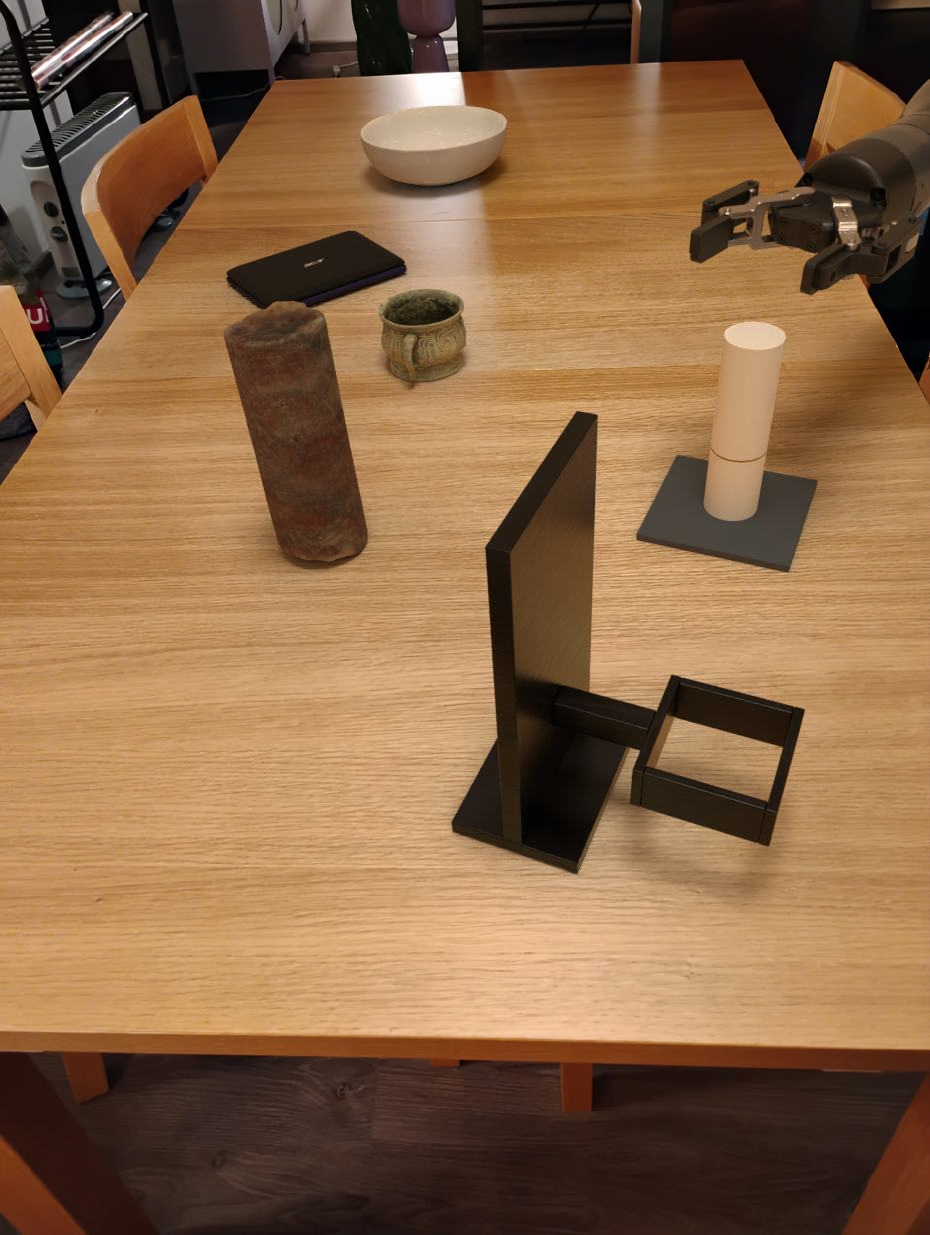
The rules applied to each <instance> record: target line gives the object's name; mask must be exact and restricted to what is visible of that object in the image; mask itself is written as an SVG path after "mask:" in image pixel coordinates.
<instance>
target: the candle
mask: <svg viewBox="0 0 930 1235" xmlns="http://www.w3.org/2000/svg"><path fill="white" fill-rule="evenodd" d="M223 340H224V343H225V347H226V351H227V354H228V357H229V362H230V365H231V368H232V372H233V376H234V381H235V384H236V388H237V390H238V395H239V399H240V404H241V406H242V410H243V414H244V417H245V421H246V426H247V430H248V434H249V437H250V441H251V444H252V445H251V446H252V448H253V453H254V455H255V456H254V457H255V460H256V464H257V468H258V471H259V476H260V479H261V484H262V488H263V492H264V497H265V500H266V502H267V503H266V504H267V507H268V508H267V509H268V512H269V515H270V518H271V523H272V526H273V530H274V533H275V537H276V540H277V543H278V545H279V547H280V548H281V550H282V551H283V552H284V553H286V554H287V555H291V556H292V557H297V558H300V559H302V560H305V561H322V562H323V561H324V562H333V561H336V560H337V559H343V558H346V557H350V556H351V557H352V556H356V555H358V554H359V553H361V552H362V551H363V549H364V548H365V546H366V545H367V541H368V527H367V521H366V516H365V511H364V506H363V500H362V496H361V491H360V486H359V482H358V476H357V472H356V467H355V461H354V457H353V452H352V448H351V444H350V438H349V432H348V428H347V423H346V416H345V411H344V407H343V403H342V397H341V392H340V386H339V380H338V377H337V376H338V375H337V372H336V371H337V370H336V366H335V361H334V354H333V350H332V344H331V341H330V335H329V328H328V324H327V320H326V317H325V314H324V312H322V311H321V310H319V309H316V308H309V307H308V306H306V305H305V303H299V302H295V301H283V302H280V301H277V302H274V303H272V304H271V305H270V306H269V307H268V308H266V309H264V310H263V309H260V310H257V311H255V312H253V313H251V314H249V315H246V316H245V317H244V318H243V319H241V320H240V321H236V322H235V323H233V324H231V325H228V326H227V327H226V328H225V329H224V331H223Z"/></svg>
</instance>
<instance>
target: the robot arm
mask: <svg viewBox="0 0 930 1235" xmlns="http://www.w3.org/2000/svg"><path fill="white" fill-rule="evenodd" d="M759 190H760V181H758V180H754V179H749V180H744V181H742V182H740V183H738V184H736V185H733V186H732V187H730V188H727V189H725V190H723V191H721V192H719V193H717V194H714V195H712V196H710V197H708V198H706V199H704V200H703V201H702V205H701V206H702V207H701V217H700V224H699V226H698V227H696V228H694V229H692V230H691V232H690V238H689V249H688V254H690V255H689V260H690V261H691V262H693V263H696V264H704V263H705V262H707V261H708V260H710V259H712V258H713V257H716V256H717V255H719V254H721V253H722V252H724V251H725V250H727V249H728V248H729V247H737V246H744V245H745V246H746V245H747V246H748V247H749V248H750V249H751V250H752V251H760V250H766V249H767V250H769V249H776V248H782V247H786V248H788V249H789V250H794V249H799V250H802V251H804V252H807V253H811V254H815V255H813V256H812V257H810V258H809V259H807V260H806V262H804V266H803V270H802V274H801V280H800V285H799V292H800V293H801V294H804V295H808V296H813V295H815V294H816V293H818V292H819V291H825V290H828V289H830V288H831V287H833V286H834V285H835V284H837V283H838V282H840V281H850V280H853V279H854V278H855V275H861V276H865V277H864V281H865V282H867V283H869V284H873V285H875V284H882V283H884V282H885V281H886V280H887V279H889V278H890V277H891V276H892V275H893V274H894V273H896V271H898V270H899V269H900V268H902V267H903V266H904V265H906V263H908V262H909V261H910V260H911V259H912V258H913V257H914V255H915V253H916V252H915V251H916V247H917V243H918V239H919V236H920V233H921V232H920V230H921V227H922V222H923V219H922V218H921V217H919V216H920V215H922V213H923V212H924V211H925V210H927V209H928V208H930V78H929V79H927V81H926V82H925V83H924V84H923V85H922V86H921V87H920V88H919V89H917V91H916V92H915V93H914V95H913V96H911V98H910V100H909V101H908V102H907V104H906V105H905V106H904V108H903V110H902V111H901V113H900V115H899V117H898V119H897V120H895V121H894V122H892V123H890V124H887V125H885V127H881V128H878V129H875V130H871V131H870V132H867V133H864V134H863V135H860V136H858V137H857V138H855V139H854V140H852V141H850V142H849V143H845V145H843V146H841V147H839V148H837V149H835V150H834V151H831V152H830V153H828V154H827V155H824V156H823V157H821V158H819V159H817V160H816V161H815V162H813V163H812V164H811V165H810V166H809V167H808V168H807V170H805V172H804V173H803V174H802V175H801V177H800V178H799V180H798V181H797V182H796V184H795V185H794V187H792V188H790V189H787V190H781V191H777V192H776V193H771V194H763V193H759ZM765 214H766V215H767V223H768V227H769V232H770V233H769V234H763V228H764V219H765ZM742 224H746V226H745V229H744V230H743V231H738V232H735V228H736V227H738V226H740V225H742ZM762 234H763V235H762Z"/></svg>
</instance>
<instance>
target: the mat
mask: <svg viewBox="0 0 930 1235" xmlns="http://www.w3.org/2000/svg"><path fill="white" fill-rule="evenodd" d="M708 462H709V459H703V458H699V457H694V456H687V455H683V454H676V456H675V458H674V460H673V462H672V463H671V466H670V468H669V470H668V472H667V474H666V475H665V477H664V479H663V480H662V483H661V485H660V487H659V489H658V490H657V493H656V494H655V497H654V499H653V501H652V502H651V504H650V507H649V509H648V510H647V513H646V514H645V517H644V518H643V520H642V521H641V524H640V526H639V528H638V530H637V532H636V534H635V536H636V538H635V539H636V540H638V541H642V542H647V543H651V544H657V545H661V546H667V547H671V548H674V549H679V550H683V551H684V550H685V551H688V552H692V553H693V552H694V553H698V554H703V555H707V556H712V557H716V558H721V559H726V560H731V561H736V562H740V563H743V564H744V563H745V564H749V565H754V566H758V567H763V568H767V569H773V570H777V571H781V572H786V573H789V572H790V569H791V566H792V563H793V560H794V556H795V554H796V550H797V547H798V545H799V541H800V538H801V535H802V532H803V528H804V526H805V522H806V520H807V517H808V513H809V510H810V508H811V504H812V501H813V498H814V495H815V492H816V489H817V485H818V479H813V478H808V477H802V476H797V475H791V474H786V473H780V472H777V471H769V470H764V471H763V477H762V483H761V489H760V495H759V501H758V507H757V511H756V513H755V514H754V515H753V516H751V517H750V518H747V519H745V520H740V521H726V520H721V519H718V518H716V517H714V516H712V515H710V514H709V513H708V512H707V511H706V510H705V508H704V495H705V487H706V479H707V471H708Z"/></svg>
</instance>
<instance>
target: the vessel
mask: <svg viewBox="0 0 930 1235" xmlns="http://www.w3.org/2000/svg"><path fill="white" fill-rule="evenodd" d="M464 309H465V303H464V300H463V298H461V297H460V295H458V294H455V293H453V292H451V291H448V290H445V289H438V288H418V289H411V290H407V291H403V292H400V293H397V294H394V295H392V296H390V297H388V298H386V299H385V300H384V301H383V302H381V304H380V305H379V307H378V316H379V317H380V320H381V322H382V332H381V339H380V343H381V344H380V345H381V348H382V350H383V352H384V353H385V355H386V356H387V358H389V359H390V363H389V369H390V370H391V372H392V374H393V375H395V376H396V377H398V378H400V379H401V380H404V381H409V382H418V383H419V382H421V383H422V382H431V381H437V380H441V379H444V378H446V377H449V376H451V375H452V374H455V373H456V372H458V370H459V369H460V368H461V367H462V366H463V357H462V355H461V351H463V350H464V348H465V347H466V345H467V330H466V326H465V321H464V319H463V316H462V314H463V312H464Z"/></svg>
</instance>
